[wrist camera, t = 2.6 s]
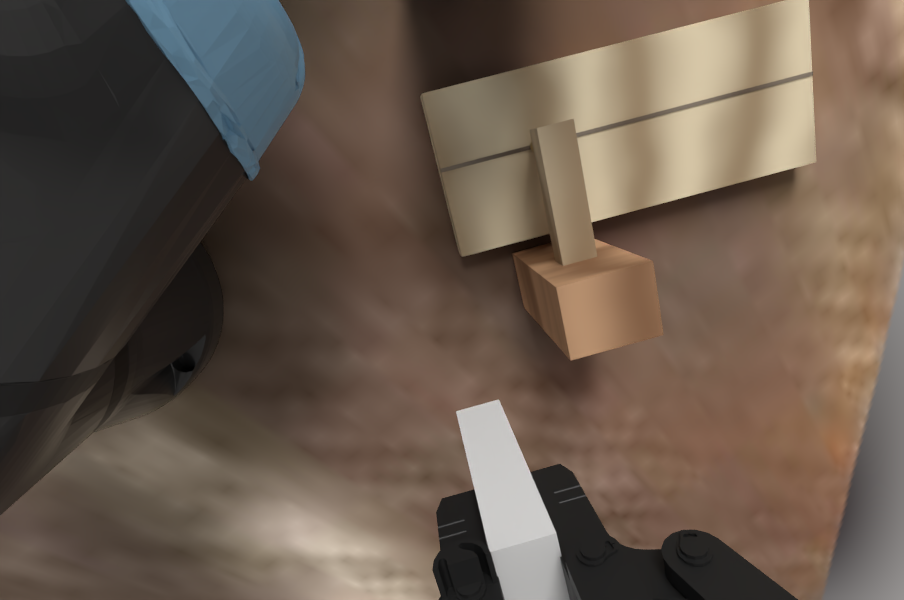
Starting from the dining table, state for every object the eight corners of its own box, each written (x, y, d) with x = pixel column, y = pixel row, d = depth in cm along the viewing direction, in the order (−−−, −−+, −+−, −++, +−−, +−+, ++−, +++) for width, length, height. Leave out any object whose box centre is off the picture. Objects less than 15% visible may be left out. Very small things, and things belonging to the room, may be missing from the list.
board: (458, 252, 34) (462, 257, 33) (420, 97, 32) (421, 93, 30) (795, 162, 35) (816, 162, 33) (786, 3, 32) (809, -6, 31)
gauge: (525, 315, 36) (572, 371, 26) (487, 140, 33) (525, 131, 23) (593, 297, 36) (664, 345, 27) (562, 121, 33) (631, 103, 23)
